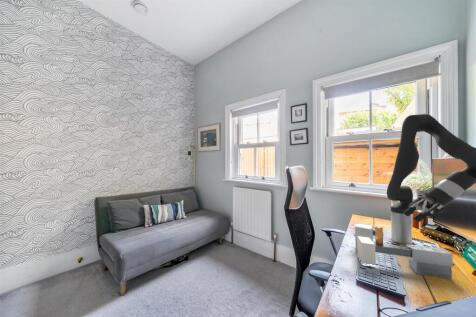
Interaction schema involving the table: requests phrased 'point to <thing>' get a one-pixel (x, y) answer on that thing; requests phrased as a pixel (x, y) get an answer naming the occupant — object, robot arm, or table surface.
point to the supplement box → (363, 232)
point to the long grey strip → (389, 248)
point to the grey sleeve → (431, 261)
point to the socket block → (366, 250)
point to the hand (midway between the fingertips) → (410, 217)
